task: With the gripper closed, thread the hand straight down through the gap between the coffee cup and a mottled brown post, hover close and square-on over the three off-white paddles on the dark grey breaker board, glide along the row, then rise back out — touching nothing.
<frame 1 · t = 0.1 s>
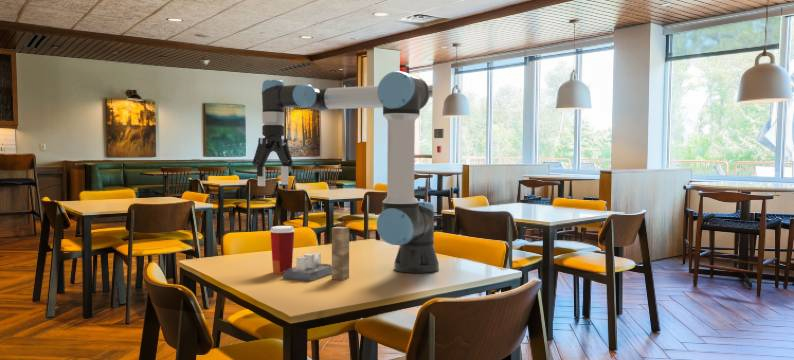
hand: (273, 185, 206), 28 cm above the table, fingers open, 13 cm apart
breaker board: (308, 275, 188), on the table
breaker paddle: (308, 260, 188), point 5 cm above the table, hinge at 0.0°
mottled brown post: (340, 278, 184), on the table
coffee cup: (282, 272, 193), on the table
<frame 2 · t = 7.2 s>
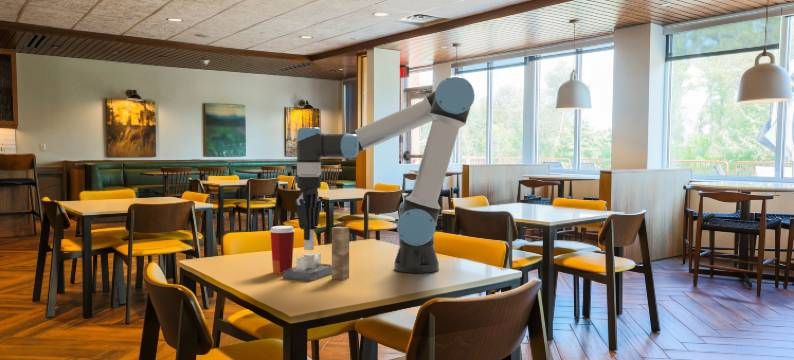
hand: (308, 249, 187), 8 cm above the table, fingers closed
nothing on the table moved.
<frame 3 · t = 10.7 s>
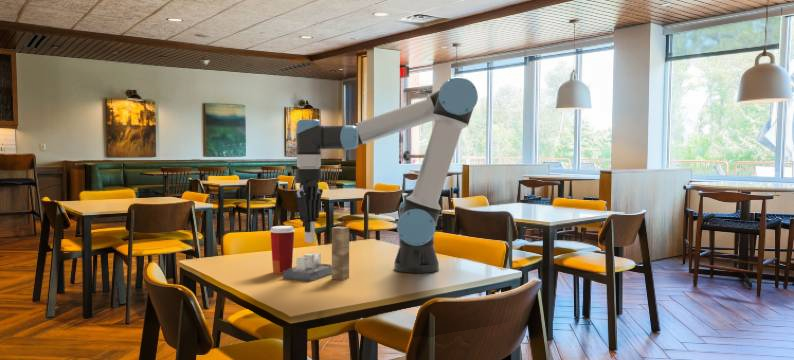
hand: (309, 241, 187), 11 cm above the table, fingers closed
nothing on the table moved.
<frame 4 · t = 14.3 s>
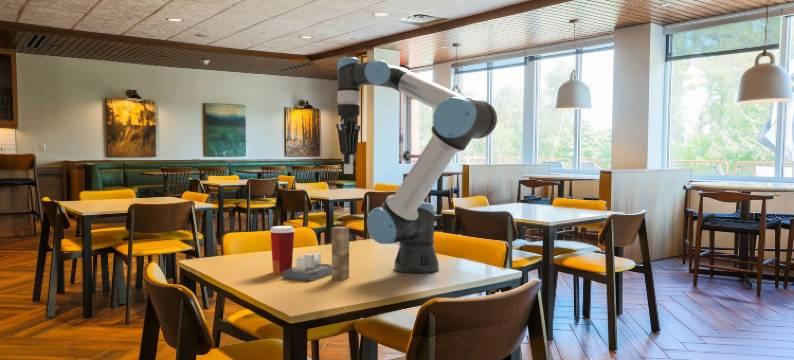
hand: (348, 173, 200), 32 cm above the table, fingers closed
nothing on the table moved.
at the end: coffee cup moved 0.2 cm from its start; mottled brown post moved 0.0 cm from its start; breaker paddle at +0° (first picture: +0°) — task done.
